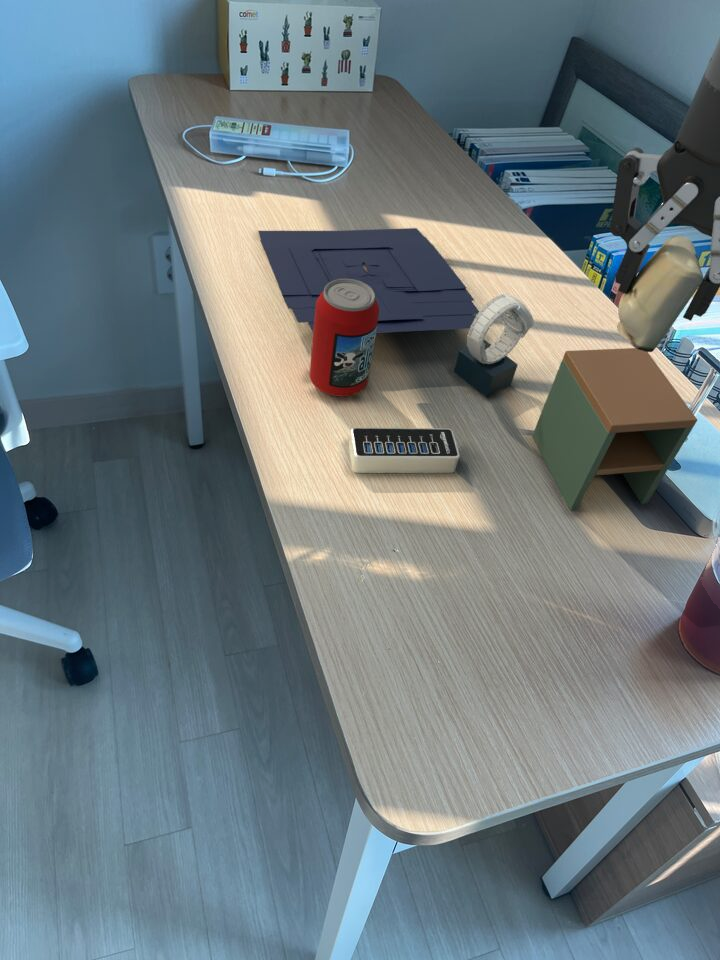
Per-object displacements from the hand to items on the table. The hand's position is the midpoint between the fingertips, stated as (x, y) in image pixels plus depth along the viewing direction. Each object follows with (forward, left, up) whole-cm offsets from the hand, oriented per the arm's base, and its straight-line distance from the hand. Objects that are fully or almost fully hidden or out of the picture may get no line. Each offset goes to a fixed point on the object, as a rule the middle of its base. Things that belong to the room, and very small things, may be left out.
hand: (657, 301), depth 62 cm
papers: (+36, -18, -24) cm, 47 cm away
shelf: (-1, -5, -24) cm, 24 cm away
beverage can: (+28, 0, -24) cm, 37 cm away
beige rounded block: (0, 0, -4) cm, 4 cm away
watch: (+15, -12, -24) cm, 31 cm away
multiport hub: (+16, +6, -24) cm, 30 cm away
